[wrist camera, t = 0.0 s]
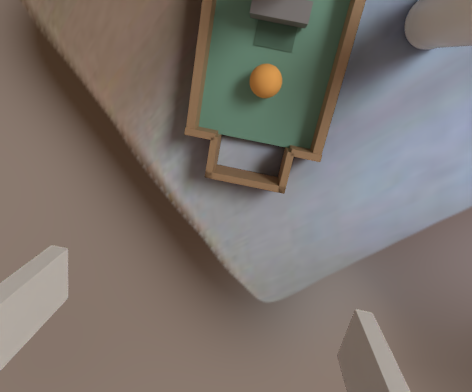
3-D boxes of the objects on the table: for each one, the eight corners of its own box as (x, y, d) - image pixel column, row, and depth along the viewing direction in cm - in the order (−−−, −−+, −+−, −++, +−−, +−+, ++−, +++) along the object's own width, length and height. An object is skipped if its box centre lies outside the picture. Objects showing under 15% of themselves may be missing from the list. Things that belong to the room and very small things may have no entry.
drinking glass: (389, 56, 35) (474, 35, 21) (402, -14, 33) (509, -92, 18) (451, 58, 34) (582, 38, 20) (469, -13, 32) (631, -91, 18)
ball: (253, 61, 35) (252, 59, 32) (284, 68, 35) (286, 65, 32) (247, 94, 36) (245, 95, 33) (277, 100, 36) (278, 101, 33)
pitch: (216, -51, 33) (210, -69, 29) (364, -23, 33) (377, -37, 29) (187, 164, 41) (179, 172, 37) (305, 188, 41) (309, 198, 37)
